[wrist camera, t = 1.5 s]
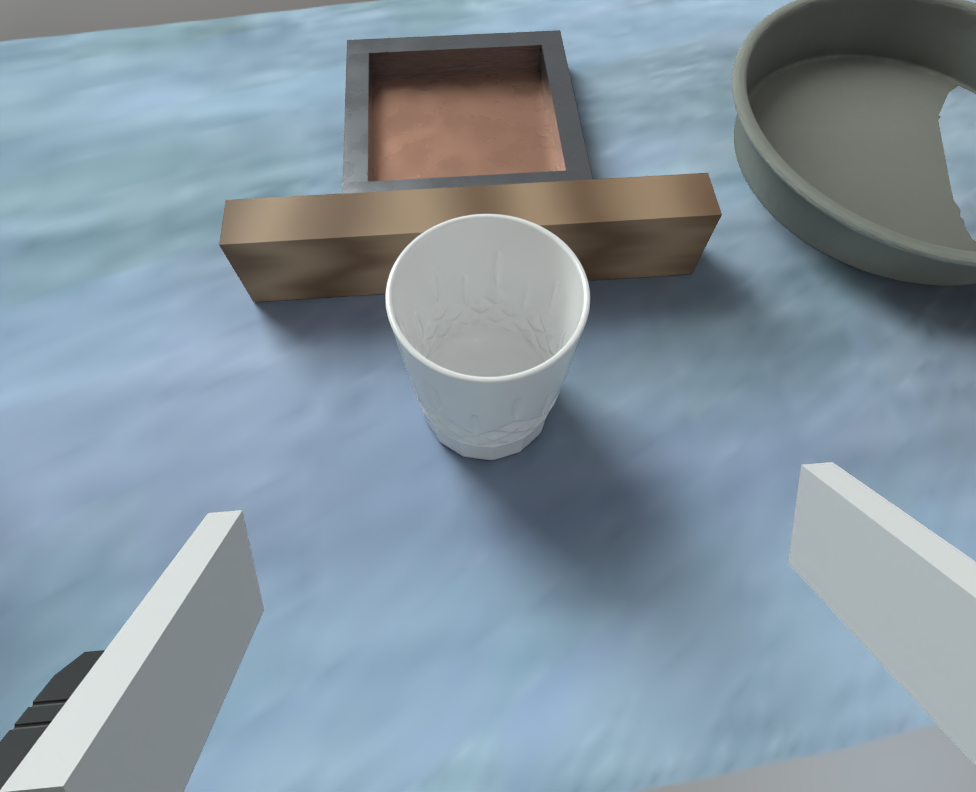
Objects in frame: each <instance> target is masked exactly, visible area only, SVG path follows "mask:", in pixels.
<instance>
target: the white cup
mask: <svg viewBox="0 0 976 792" xmlns="http://www.w3.org/2000/svg"><path fill="white" fill-rule="evenodd" d="M385 301H386V310H387V315H388V319H389V322H390V325H391V328H392V330H393V333H394V336H395V339H396V342H397V345H398V348H399V351H400V354H401V357H402V360H403V363H404V366H405V369H406V372H407V374H408V377H409V380H410V383H411V385H412V388H413V390H414V393H415V395H416V398H417V400H418V402H419V405H420V407H421V409H422V411H423V413H424V416H425V419H426V420H427V422H428V424H429V425H430V427H431V429H432V430H433V432H434V434H435V435H436V437H437V439H438V440H439V442H441V443H442V444H444V445H446V446H447V447H449V448H450V449H452V450H454V451H455V452H457V453H458V454H460V455H461V456H463V457H470V458H477V459H485V460H496V459H499V458H502V457H505V456H509V455H512V454H515V453H518V452H521V451H522V450H523V449H524V448H525V447H526V446H527V445H528V444H529V443H531V442H532V441H533V440H534V439H535V438H536V437H537V436H538V435H539V434H540V433H541V432H542V429H543V426H544V423H545V421H546V418H547V415H548V413H549V412H550V410H551V409H552V407H553V406H554V404H555V402H556V399H557V397H558V395H559V392H560V390H561V388H562V385H563V383H564V381H565V379H566V376H567V373H568V371H569V368H570V364H571V361H572V359H573V356H574V353H575V351H576V348H577V346H578V343H579V340H580V338H581V335H582V332H583V330H584V327H585V324H586V322H587V318H588V314H589V309H590V289H589V283H588V279H587V276H586V273H585V271H584V269H583V267H582V265H581V263H580V261H579V260H578V258H577V256H576V255H575V254H574V252H573V251H572V250H571V249H570V248H569V247H568V246H567V245H566V244H565V243H564V242H563V241H562V240H561V239H560V238H558V237H557V236H556V235H554V234H553V233H552V232H550V231H548V230H547V229H545V228H543V227H541V226H539V225H537V224H535V223H533V222H530V221H527V220H524V219H521V218H517V217H513V216H507V215H500V214H474V215H467V216H462V217H458V218H454V219H451V220H448V221H445V222H442V223H440V224H438V225H436V226H434V227H432V228H430V229H428V230H426V231H425V232H423V233H422V234H420V235H419V236H418V237H416V238H415V239H414V240H413V241H412V242H411V243H410V244H409V245H408V246H407V247H406V248H405V249H404V250H403V251H402V253H401V254H400V255H399V257H398V258H397V260H396V261H395V263H394V265H393V267H392V269H391V272H390V274H389V278H388V281H387V286H386V296H385Z"/></svg>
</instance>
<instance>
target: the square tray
mask: <svg viewBox="0 0 976 792" xmlns="http://www.w3.org/2000/svg"><path fill="white" fill-rule="evenodd" d="M591 179H593V178H592V174H591V169H590V165H589V160H588V156H587V151H586V146H585V142H584V137H583V133H582V128H581V124H580V119H579V114H578V110H577V105H576V101H575V96H574V92H573V87H572V82H571V78H570V73H569V69H568V64H567V60H566V55H565V51H564V46H563V41H562V37H561V32H560V31H538V32H516V33H494V34H472V35H450V36H428V37H406V38H384V39H362V40H347V62H346V93H345V124H344V155H343V186H342V194H344V193H362V192H380V191H397V190H415V189H432V188H450V187H468V186H485V185H503V184H521V183H538V182H556V181H574V180H591Z"/></svg>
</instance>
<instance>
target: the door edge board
mask: <svg viewBox="0 0 976 792" xmlns="http://www.w3.org/2000/svg"><path fill="white" fill-rule="evenodd" d="M474 214H500V215H507V216H513V217H517V218H521V219H524V220H527V221H530V222H533V223H535V224H537V225H539V226H541V227H543V228H545V229H547V230H548V231H550V232H552V233H553V234H554V235H556V236H557V237H558V238H560V239H561V240H562V241H563V242H564V243H565V244H566V245H567V246H568V247H569V248H570V249H571V250H572V251H573V252H574V254H575V255H576V256H577V258H578V260H579V261H580V263H581V265H582V267H583V269H584V271H585V273H586V276H587V279H588V281H590V280H606V279H621V278H637V277H652V276H668V275H684V274H692V272H693V270H694V268H695V266H696V264H697V262H698V260H699V258H700V256H701V254H702V252H703V250H704V249H705V247H706V245H707V243H708V241H709V239H710V237H711V235H712V233H713V231H714V229H715V227H716V225H717V223H718V221H719V219H720V217H721V215H722V214H721V211H720V208H719V205H718V202H717V199H716V196H715V193H714V190H713V187H712V184H711V181H710V178H709V175H708V173H697V174H680V175H662V176H644V177H627V178H609V179H591V180H574V181H556V182H538V183H521V184H503V185H485V186H468V187H450V188H432V189H415V190H397V191H380V192H362V193H344V194H327V195H309V196H291V197H274V198H256V199H238V200H226V201H225V208H224V215H223V222H222V228H221V235H220V242H219V245H220V247H221V249H222V250H223V252H224V254H225V255H226V257H227V259H228V260H229V262H230V264H231V265H232V267H233V269H234V270H235V272H236V274H237V275H238V277H239V279H240V280H241V282H242V283H243V285H244V287H245V288H246V290H247V292H248V293H249V295H250V297H251V298H252V300H253V302H263V301H279V300H294V299H310V298H325V297H341V296H356V295H372V294H386V286H387V281H388V278H389V274H390V272H391V269H392V267H393V265H394V263H395V261H396V260H397V258H398V257H399V255H400V254H401V253H402V251H403V250H404V249H405V248H406V247H407V246H408V245H409V244H410V243H411V242H412V241H413V240H414V239H415V238H416V237H418V236H419V235H420V234H422V233H423V232H425V231H426V230H428V229H430V228H432V227H434V226H436V225H438V224H440V223H442V222H445V221H448V220H451V219H454V218H458V217H462V216H467V215H474Z"/></svg>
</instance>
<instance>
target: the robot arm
mask: <svg viewBox="0 0 976 792" xmlns="http://www.w3.org/2000/svg"><path fill="white" fill-rule="evenodd" d="M788 563H789V564H790V566H791V567H792V568H793V569H794V570H795V571H796V572H797V573H798V574H799V575H800V576H801V577H802V579H803V580H804V581H805V582H806V583H807V584H808V585H809V586H810V587H811V588H812V589H813V590H814V592H815V593H816V594H817V595H818V596H819V597H820V598H821V599H822V600H823V601H824V602H825V603H826V604H827V606H828V607H829V608H830V609H831V610H832V611H833V612H834V613H835V614H836V615H837V616H838V617H839V619H840V620H841V621H842V622H843V623H844V624H845V625H846V626H847V627H848V628H849V629H850V630H851V632H852V633H853V634H854V635H855V636H856V637H857V638H858V639H859V640H860V641H861V642H862V643H863V645H864V646H865V647H866V648H867V649H868V650H869V651H870V652H871V653H872V654H873V655H874V656H875V657H876V659H877V660H878V661H879V662H880V663H881V664H882V665H883V666H884V667H885V668H886V669H887V670H888V672H889V673H890V674H891V675H892V676H893V677H894V678H895V679H896V680H897V681H898V682H899V683H900V685H901V686H902V687H903V688H904V689H905V690H906V691H907V692H908V693H909V694H910V695H911V696H912V697H913V699H914V700H915V701H916V702H917V703H918V704H919V705H920V706H921V707H922V708H923V709H924V710H925V712H926V713H927V714H928V715H929V716H930V717H931V718H932V719H933V720H934V721H935V722H936V723H937V725H938V726H939V727H940V728H941V729H942V730H943V731H944V732H945V733H946V734H947V735H948V736H949V738H950V739H952V741H953V742H954V743H955V744H956V745H957V746H958V747H959V748H960V749H961V750H962V752H964V754H965V755H966V756H967V757H968V758H969V759H970V760H971V761H972V762H973V763H974V765H975V766H976V562H975V561H974V560H972V559H971V558H969V557H968V556H966V555H965V554H964V553H962V552H961V551H959V550H958V549H956V548H955V547H954V546H952V545H951V544H949V543H948V542H946V541H945V540H943V539H942V538H941V537H939V536H938V535H936V534H935V533H933V532H932V531H931V530H929V529H928V528H926V527H925V526H923V525H922V524H920V523H919V522H918V521H916V520H915V519H913V518H912V517H910V516H909V515H908V514H906V513H905V512H903V511H902V510H900V509H899V508H897V507H896V506H895V505H893V504H892V503H890V502H889V501H887V500H886V499H885V498H883V497H882V496H880V495H879V494H877V493H876V492H874V491H873V490H872V489H870V488H869V487H867V486H866V485H864V484H863V483H861V482H860V481H859V480H857V479H856V478H854V477H853V476H851V475H850V474H849V473H847V472H846V471H844V470H843V469H841V468H840V467H838V466H837V465H836V464H834V463H833V462H830V463H818V464H805V465H801V470H800V478H799V486H798V493H797V501H796V509H795V516H794V524H793V532H792V539H791V547H790V555H789V562H788ZM263 611H264V607H263V603H262V598H261V594H260V589H259V584H258V580H257V575H256V571H255V566H254V562H253V557H252V552H251V548H250V543H249V539H248V534H247V530H246V525H245V520H244V516H243V511H242V510H240V511H227V512H215V513H208V514H207V515H206V517H205V518H204V519H203V521H202V522H201V523H200V525H199V526H198V527H197V529H196V530H195V531H194V533H193V534H192V535H191V537H190V538H189V539H188V541H187V542H186V543H185V545H184V546H183V547H182V549H181V550H180V551H179V553H178V554H177V555H176V557H175V558H174V559H173V561H172V562H171V563H170V565H169V566H168V567H167V569H166V570H165V571H164V573H163V574H162V575H161V577H160V578H159V579H158V581H157V582H156V583H155V585H154V586H153V587H152V589H151V590H150V591H149V593H148V594H147V595H146V597H145V598H144V599H143V601H142V602H141V603H140V605H139V606H138V607H137V609H136V610H135V611H134V613H133V614H132V615H131V617H130V618H129V619H128V621H127V622H126V623H125V625H124V626H123V627H122V629H121V630H120V631H119V633H118V634H117V635H116V637H115V638H114V639H113V641H112V642H111V643H110V645H109V646H108V647H107V649H106V650H102V651H91V652H84V653H83V654H82V655H80V656H79V657H78V658H76V659H75V660H74V661H73V662H71V663H70V664H69V665H67V666H66V667H65V668H64V669H62V670H61V671H60V672H58V673H57V674H56V675H55V676H54V677H53V678H52V679H51V680H50V682H49V683H48V684H47V685H46V686H45V688H44V689H43V690H42V691H41V693H40V694H39V695H38V696H37V697H36V699H35V700H34V701H33V706H32V707H28V708H27V710H26V711H25V712H24V713H23V715H22V716H21V717H20V718H19V720H18V721H17V722H16V723H15V727H14V729H13V730H10V731H9V732H8V733H7V734H6V735H5V737H4V738H3V739H2V740H1V742H0V792H184V790H185V788H186V785H187V783H188V781H189V779H190V776H191V774H192V772H193V770H194V767H195V765H196V763H197V760H198V758H199V756H200V754H201V751H202V749H203V747H204V745H205V742H206V740H207V738H208V736H209V733H210V731H211V729H212V727H213V724H214V722H215V720H216V717H217V715H218V713H219V711H220V708H221V706H222V704H223V702H224V699H225V697H226V695H227V693H228V690H229V688H230V686H231V683H232V681H233V679H234V677H235V674H236V672H237V670H238V668H239V665H240V663H241V661H242V659H243V656H244V654H245V652H246V650H247V647H248V645H249V643H250V640H251V638H252V636H253V634H254V631H255V629H256V627H257V625H258V622H259V620H260V618H261V616H262V613H263Z"/></svg>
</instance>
